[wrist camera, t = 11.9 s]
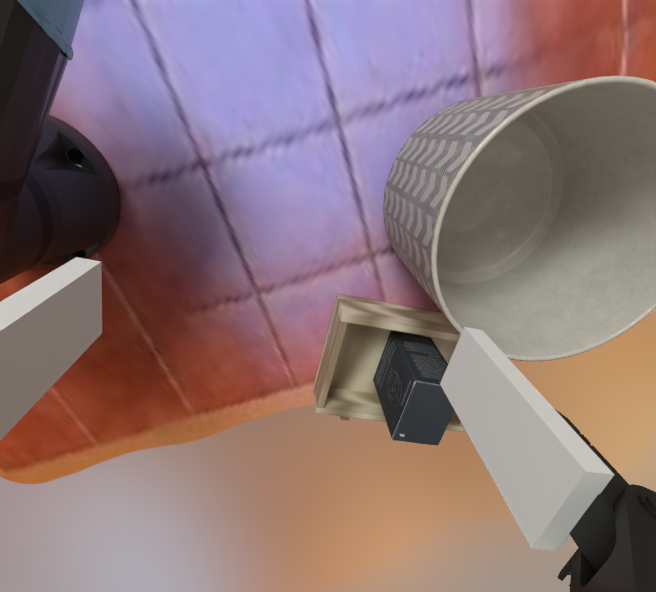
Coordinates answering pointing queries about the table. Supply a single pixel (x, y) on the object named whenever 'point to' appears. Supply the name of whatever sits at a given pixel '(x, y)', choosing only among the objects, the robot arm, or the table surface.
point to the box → (413, 389)
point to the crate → (370, 354)
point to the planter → (534, 213)
